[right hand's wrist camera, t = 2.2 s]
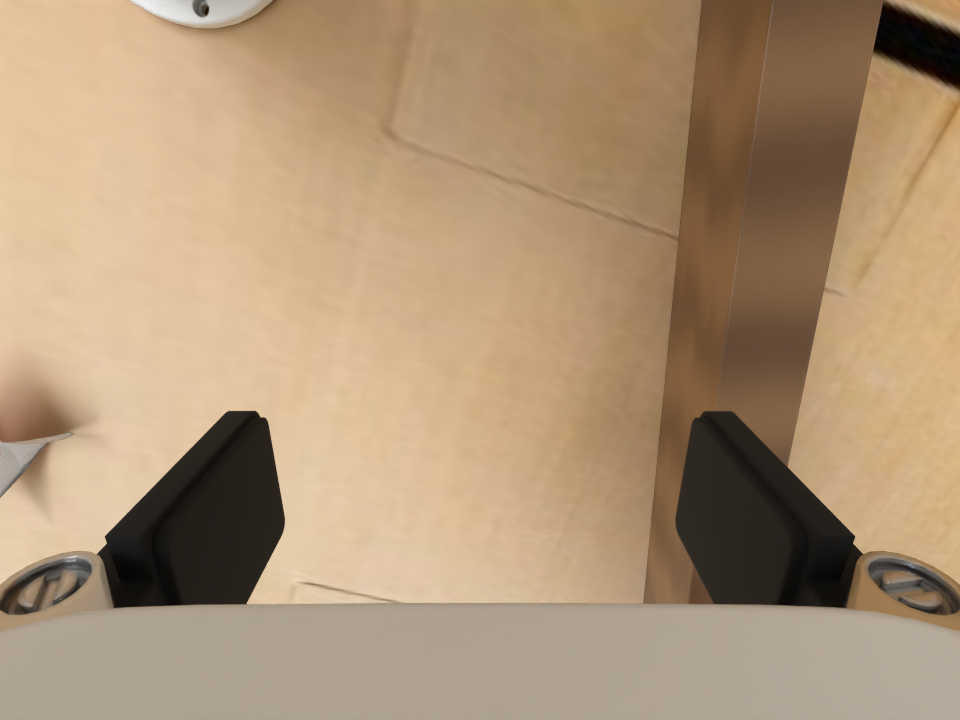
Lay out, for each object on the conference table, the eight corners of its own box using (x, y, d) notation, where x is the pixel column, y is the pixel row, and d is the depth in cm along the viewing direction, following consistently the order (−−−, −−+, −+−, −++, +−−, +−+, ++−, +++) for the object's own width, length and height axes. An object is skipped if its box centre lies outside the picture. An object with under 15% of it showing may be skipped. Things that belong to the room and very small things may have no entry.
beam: (741, -417, 23) (869, -703, 15) (849, -425, 23) (1032, -717, 15) (637, 660, 47) (666, 756, 40) (689, 659, 47) (728, 755, 40)
